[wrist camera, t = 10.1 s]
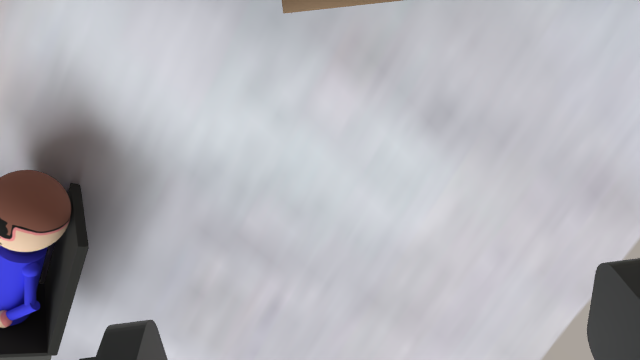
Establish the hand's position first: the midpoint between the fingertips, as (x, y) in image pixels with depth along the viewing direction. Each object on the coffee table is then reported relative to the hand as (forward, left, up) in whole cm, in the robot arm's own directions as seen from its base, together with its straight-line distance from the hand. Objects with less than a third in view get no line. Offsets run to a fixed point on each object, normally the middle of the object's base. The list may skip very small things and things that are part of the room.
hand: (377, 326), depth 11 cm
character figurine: (+15, -20, -28) cm, 38 cm away
